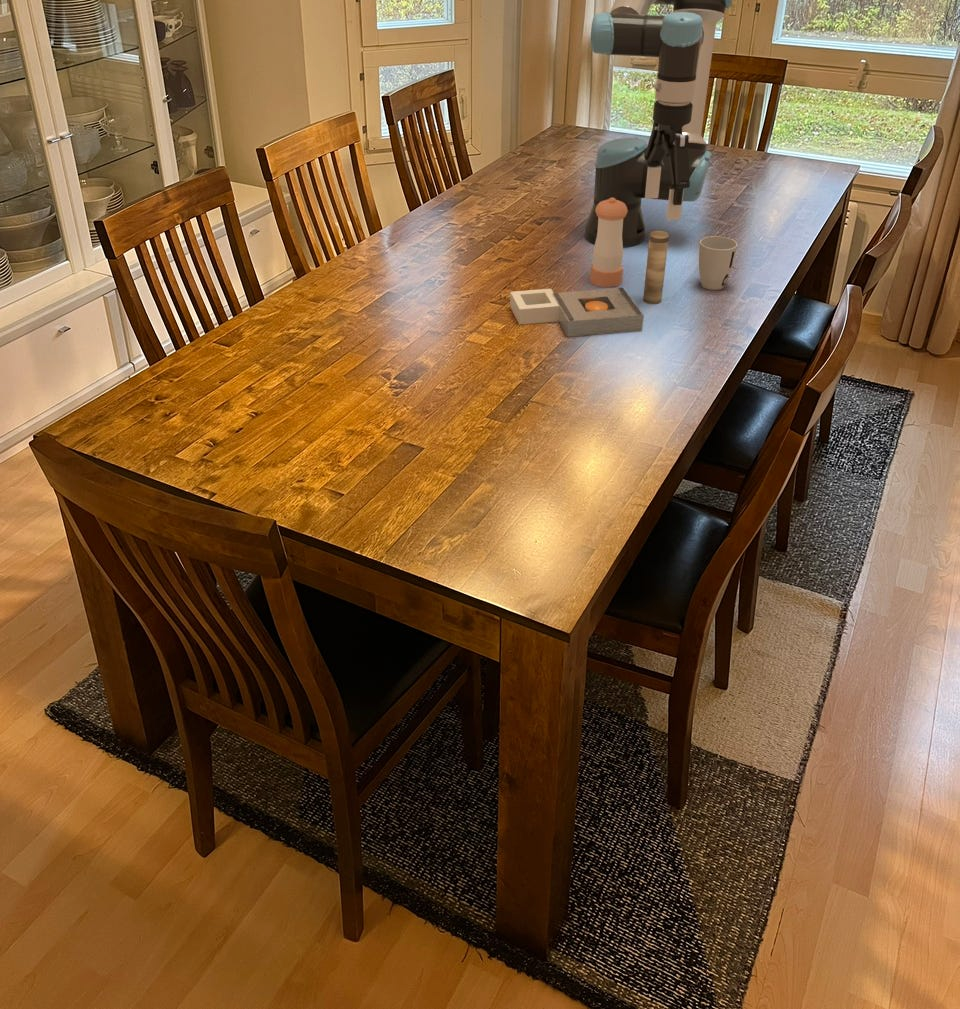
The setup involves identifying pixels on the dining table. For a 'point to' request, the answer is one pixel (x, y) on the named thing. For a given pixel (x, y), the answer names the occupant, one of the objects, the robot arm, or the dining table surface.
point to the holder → (534, 306)
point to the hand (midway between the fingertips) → (662, 208)
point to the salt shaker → (608, 244)
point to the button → (595, 306)
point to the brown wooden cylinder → (655, 267)
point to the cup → (716, 261)
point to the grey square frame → (598, 312)
